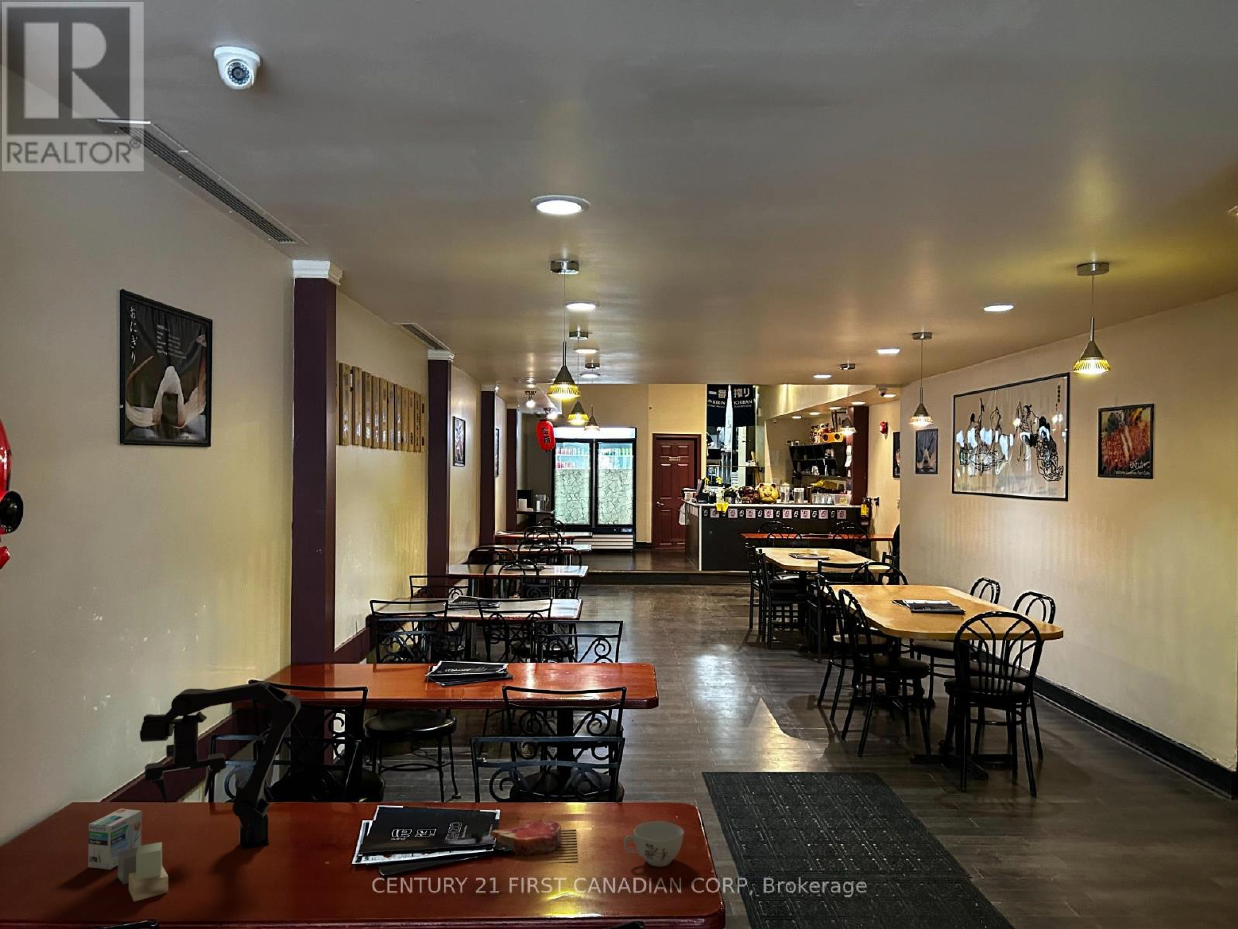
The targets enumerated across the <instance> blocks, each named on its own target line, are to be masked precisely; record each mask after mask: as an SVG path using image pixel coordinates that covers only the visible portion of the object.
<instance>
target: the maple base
mask: <svg viewBox="0 0 1238 929" xmlns="http://www.w3.org/2000/svg"><path fill="white" fill-rule="evenodd" d="M128 892H129V893H130V896H131V898H132V901H133V902H137V901H138V902H139V901H141V900H144V899H148V898H153V897H156V896H159V895H164V894H167V893H169V875H168V873H167V872H166V869H165V868H164V866H163V865H162V870H161V876H160V877H154V878H148V879H142V880H137V881H136V872H134V873H130V874H129V883H128Z"/></svg>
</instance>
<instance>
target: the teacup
mask: <svg viewBox="0 0 1238 929" xmlns="http://www.w3.org/2000/svg"><path fill="white" fill-rule="evenodd" d="M684 834H685V831H684V829H683V828H682V827H681V826H679V825H677V824H674V823H672V822H669V821H664V820H654V821H646V822H642V823H640V824H638V825H637V826H635V828H634V829H633V835H631V834H629V835H627V836H625V838H624V839H623V840H624V841H623V845H624V848H625V850H626V851H627V852H628V853H630V854H636V855H639V856H641V857H642V858H643V859H644V860H645V861H646V862H647V864H648V865H651V866H653V867H661V868H662V867H665V866H668V865H670V864H671V863H672V861H673V860H674V859H675V858H676V857H677V855H678V854H679V851H680V849H681V846H682V845H683V844H682V843H683V840H684ZM629 841H632V842H633V844H635V846H636V848H637V850H634V849H632V848H630V847H629V846H628V842H629Z"/></svg>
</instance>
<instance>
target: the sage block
mask: <svg viewBox="0 0 1238 929" xmlns="http://www.w3.org/2000/svg"><path fill="white" fill-rule="evenodd" d="M162 866H163V842H162V841H160V842H154V843H148V844H143V845H142V844H141V846H138V849H137V853H136V881H137V880H142V879H148V878H154V877H160V876H161V870H162Z"/></svg>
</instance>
